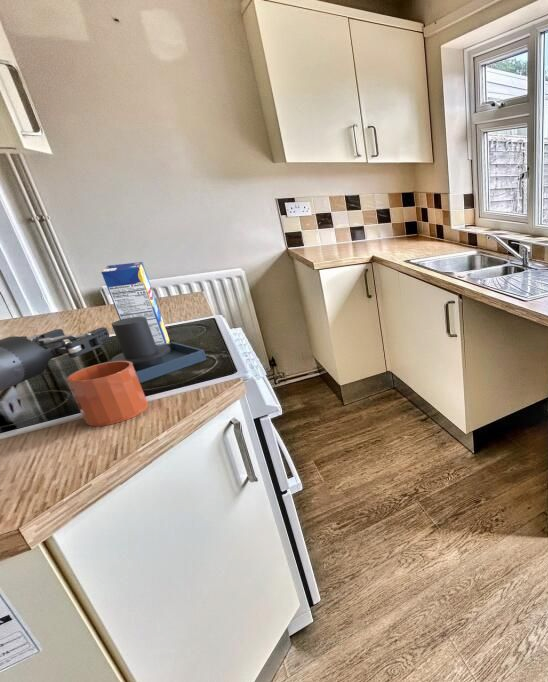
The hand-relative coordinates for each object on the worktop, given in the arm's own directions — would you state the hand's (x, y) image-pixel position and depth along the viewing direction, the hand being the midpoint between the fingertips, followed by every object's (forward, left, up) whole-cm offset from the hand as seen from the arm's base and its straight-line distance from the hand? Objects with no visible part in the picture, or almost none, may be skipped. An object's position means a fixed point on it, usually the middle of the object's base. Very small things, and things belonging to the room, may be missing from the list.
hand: (84, 332), depth 85 cm
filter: (+9, +5, -13) cm, 16 cm away
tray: (+9, +5, -13) cm, 17 cm away
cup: (-4, -14, -13) cm, 19 cm away
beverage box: (+17, +20, -13) cm, 30 cm away
